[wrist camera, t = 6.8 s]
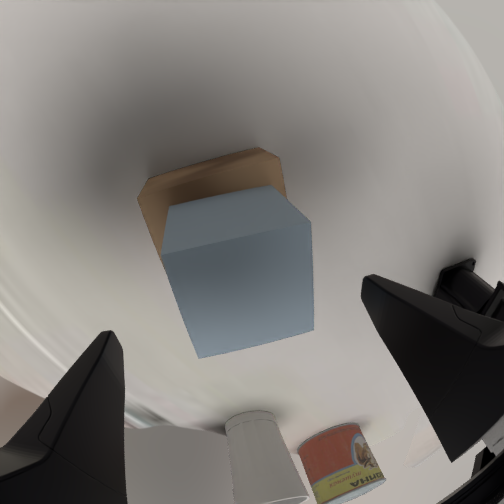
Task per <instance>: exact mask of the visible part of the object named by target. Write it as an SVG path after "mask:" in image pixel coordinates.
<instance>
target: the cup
mask: <svg viewBox="0 0 504 504" xmlns="http://www.w3.org/2000/svg"><path fill="white" fill-rule="evenodd" d="M225 431H226V436H227V440H228V449H229V458H230V466H231V475H232V482H233V496H234V504H301V503H303V502H305V501H306V500H308V499H309V498H310V496H309V494H308V492H307V490H306V488H305V486H304V484H303V482H302V480H301V478H300V476H299V473H298V471H297V469H296V467H295V465H294V463H293V460H292V458H291V456H290V453H289V451H288V449H287V447H286V444H285V442H284V440H283V437H282V435H281V433H280V430H279V428H278V426H277V423H276V420H275V417H274V415H273V414H272V413H270V412H266V411H251V412H246V413H242V414H239V415H236V416H234V417H232V418H231V419H229V420H228V421H227V422H226V424H225Z"/></svg>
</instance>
